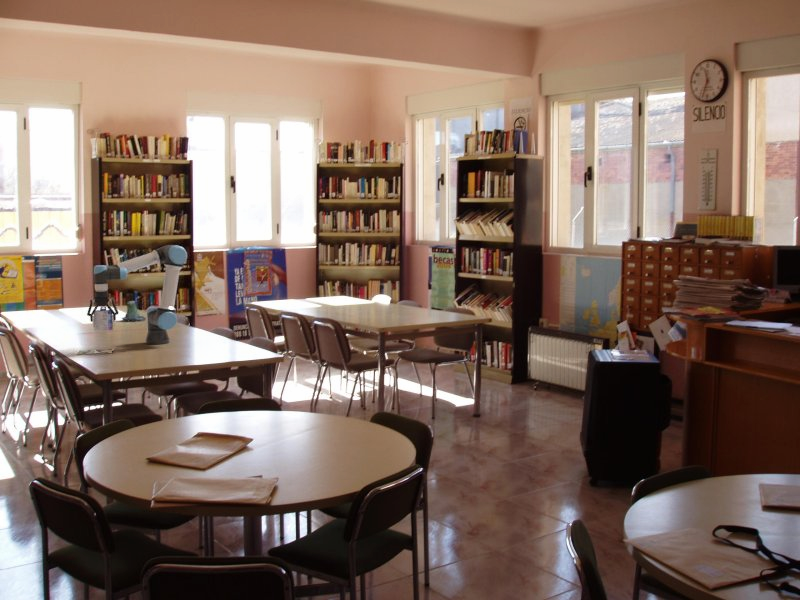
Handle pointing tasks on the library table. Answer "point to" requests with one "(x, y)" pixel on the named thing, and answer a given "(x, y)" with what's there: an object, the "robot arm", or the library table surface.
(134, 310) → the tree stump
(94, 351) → the board
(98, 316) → the ink cartridge box
